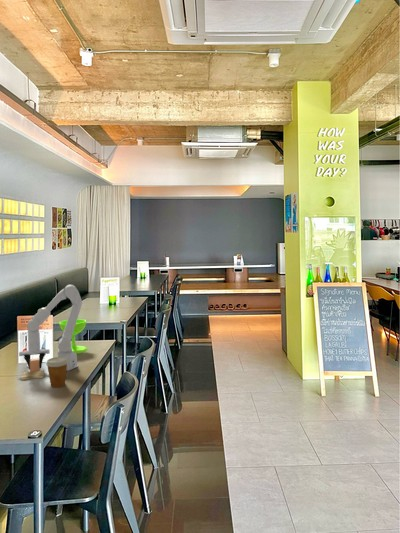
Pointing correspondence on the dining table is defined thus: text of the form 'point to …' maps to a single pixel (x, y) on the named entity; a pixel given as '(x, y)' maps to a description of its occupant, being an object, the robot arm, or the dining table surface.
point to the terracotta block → (34, 365)
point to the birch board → (32, 375)
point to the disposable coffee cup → (57, 371)
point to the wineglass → (78, 328)
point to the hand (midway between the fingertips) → (35, 368)
